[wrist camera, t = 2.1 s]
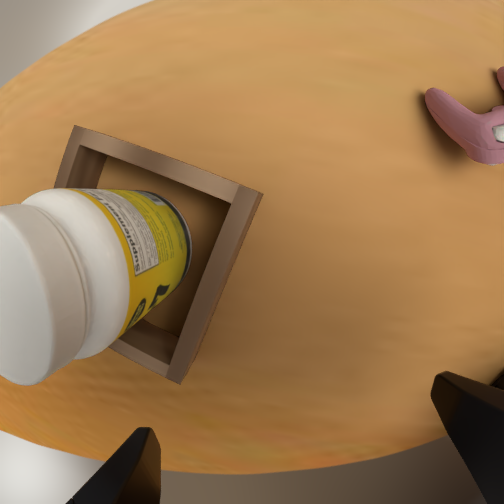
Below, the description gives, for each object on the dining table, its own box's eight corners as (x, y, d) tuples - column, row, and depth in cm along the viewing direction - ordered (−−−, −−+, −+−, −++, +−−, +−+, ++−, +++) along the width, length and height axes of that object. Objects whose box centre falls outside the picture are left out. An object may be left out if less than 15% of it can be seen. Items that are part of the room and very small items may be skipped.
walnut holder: (263, 194, 18) (258, 192, 15) (195, 358, 21) (180, 384, 17) (103, 134, 19) (74, 125, 15) (61, 285, 21) (33, 297, 18)
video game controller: (430, 149, 18) (497, 190, 12) (414, 88, 16) (490, 110, 10) (509, 115, 17) (572, 143, 11) (500, 63, 14) (568, 81, 8)
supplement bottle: (129, 313, 21) (4, 411, 8) (84, 224, 20) (-68, 254, 7) (215, 270, 19) (111, 378, 7) (163, 169, 19) (6, 140, 6)
